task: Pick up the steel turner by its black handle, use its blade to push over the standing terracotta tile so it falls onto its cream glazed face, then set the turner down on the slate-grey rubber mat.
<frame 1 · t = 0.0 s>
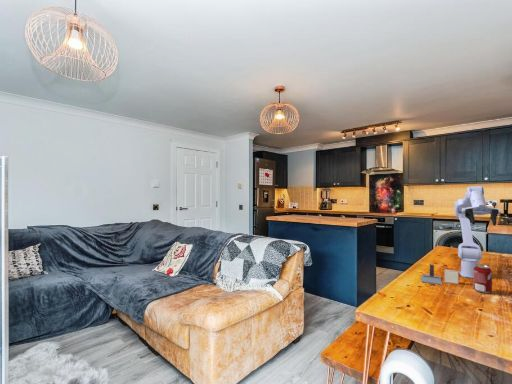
hand: (484, 223, 127), 32 cm above the table, tool tilted 50°, fingers open, 7 cm apart
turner: (431, 277, 149), on the table
tile: (451, 282, 141), on the table
soda can: (482, 291, 129), on the table
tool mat: (431, 281, 143), on the table
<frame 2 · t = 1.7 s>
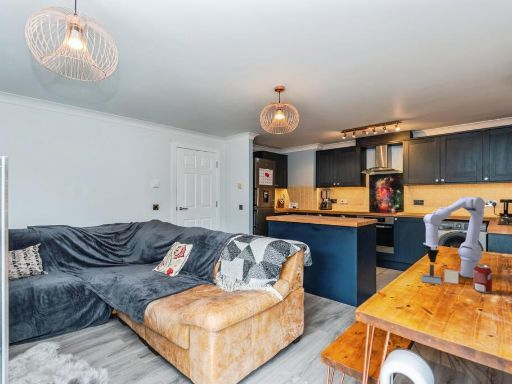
hand: (431, 260, 149), 9 cm above the table, tool pointing down, fingers open, 7 cm apart
nothing on the table moved.
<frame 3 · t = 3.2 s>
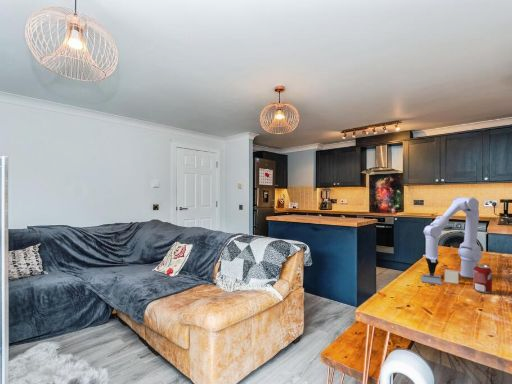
hand: (431, 272, 149), 3 cm above the table, tool pointing down, fingers closed on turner, 2 cm apart
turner: (431, 277, 149), on the table, touching gripper
everything else where it was.
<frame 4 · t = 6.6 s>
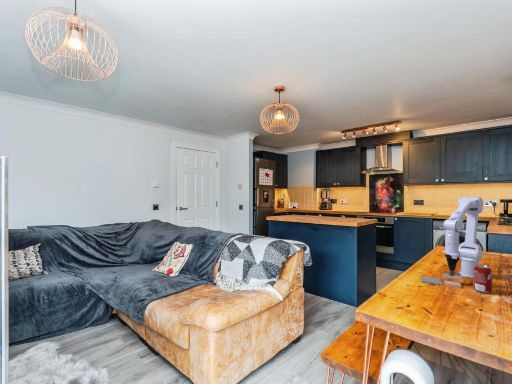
hand: (451, 269, 139), 7 cm above the table, tool pointing down, fingers closed on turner, 2 cm apart
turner: (451, 277, 139), point 3 cm above the table, touching gripper
tile: (451, 282, 140), on the table, tilted 90°
everything else where it was.
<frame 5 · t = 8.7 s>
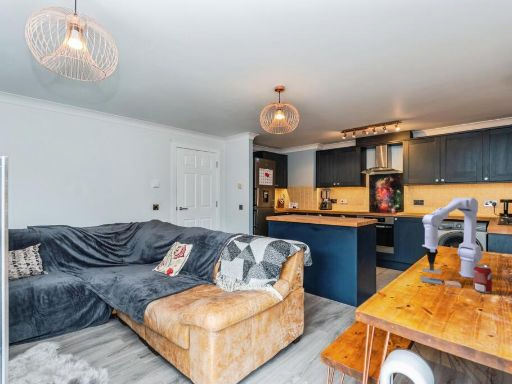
hand: (431, 263, 143), 9 cm above the table, tool pointing down, fingers closed on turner
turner: (431, 272, 143), point 5 cm above the table, touching gripper
everything else where it was.
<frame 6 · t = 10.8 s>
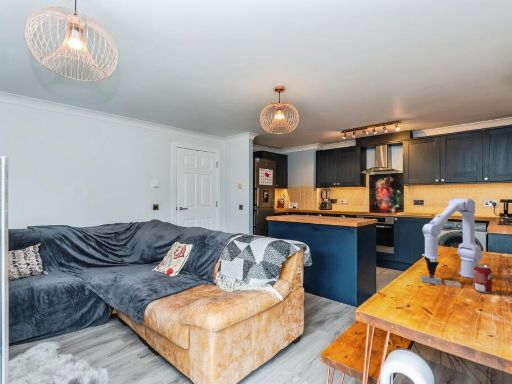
hand: (431, 272, 143), 4 cm above the table, tool pointing down, fingers open, 7 cm apart
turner: (431, 279, 143), point 1 cm above the table, touching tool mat
everything else where it was.
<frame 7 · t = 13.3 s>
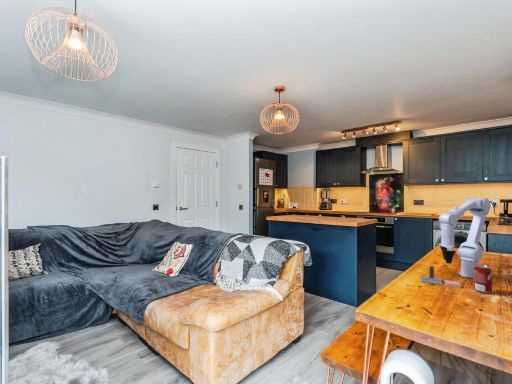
hand: (447, 261, 145), 10 cm above the table, tool pointing down, fingers open, 7 cm apart
nothing on the table moved.
at the end: tile tilted 90°; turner 0.6 cm off-centre on the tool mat, point 0.6 cm above the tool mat's base; the gripper is holding nothing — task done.
